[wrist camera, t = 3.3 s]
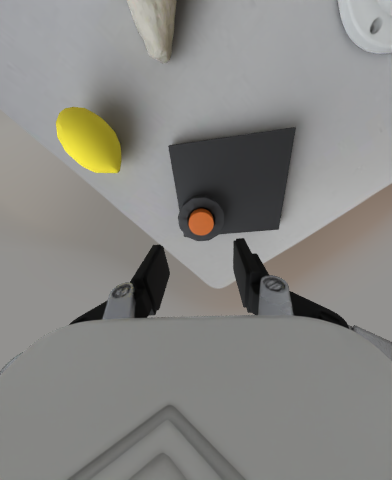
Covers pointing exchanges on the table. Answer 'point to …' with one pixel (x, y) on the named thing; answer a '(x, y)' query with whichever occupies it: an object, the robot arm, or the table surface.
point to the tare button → (201, 222)
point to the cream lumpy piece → (155, 25)
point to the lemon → (89, 140)
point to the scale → (233, 181)
